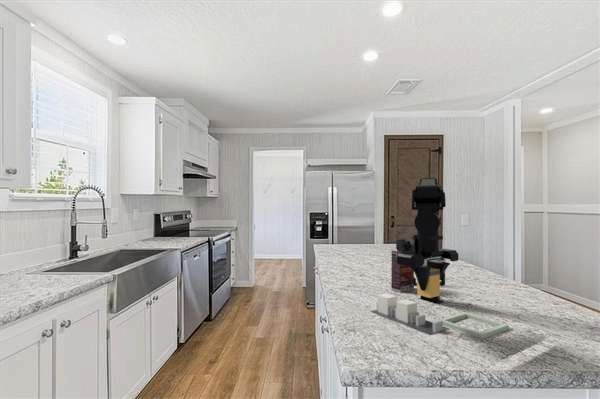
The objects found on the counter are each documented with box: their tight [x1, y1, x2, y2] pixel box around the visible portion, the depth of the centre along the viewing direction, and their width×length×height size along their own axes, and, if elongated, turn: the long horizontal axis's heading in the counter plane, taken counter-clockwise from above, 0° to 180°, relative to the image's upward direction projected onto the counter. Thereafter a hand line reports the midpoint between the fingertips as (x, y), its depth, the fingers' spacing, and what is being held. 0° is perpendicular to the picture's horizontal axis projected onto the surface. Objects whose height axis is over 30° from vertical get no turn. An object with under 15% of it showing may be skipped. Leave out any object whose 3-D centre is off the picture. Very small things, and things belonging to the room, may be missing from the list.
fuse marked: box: [416, 268, 441, 298], centre depth 89 cm, size 4×4×7 cm
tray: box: [438, 311, 510, 340], centre depth 90 cm, size 12×12×2 cm
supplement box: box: [390, 249, 415, 293], centre depth 134 cm, size 9×5×16 cm, turn 123°
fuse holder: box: [370, 301, 450, 336], centre depth 95 cm, size 8×22×4 cm, turn 31°
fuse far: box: [377, 293, 398, 315], centre depth 102 cm, size 4×4×5 cm
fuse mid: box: [396, 298, 418, 323], centre depth 96 cm, size 4×4×5 cm
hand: (428, 289), depth 89 cm, fingers closed on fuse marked, 4 cm apart
